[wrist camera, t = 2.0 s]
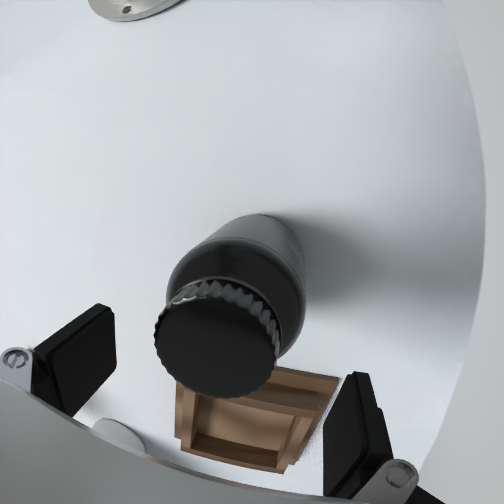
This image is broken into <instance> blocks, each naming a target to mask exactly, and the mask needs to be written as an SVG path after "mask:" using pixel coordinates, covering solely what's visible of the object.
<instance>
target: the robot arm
mask: <svg viewBox="0 0 504 504" xmlns="http://www.w3.org/2000/svg"><path fill="white" fill-rule="evenodd" d="M178 1H180V0H88V3H89V5H90V7H91V9H92V10H93V11H94V12H95V13H96V14H98V15H99V16H101V17H103V18H105V19H108V20H111V21H120V22H123V21H133V20H136V19H141V18H145V17H147V16H150V15H153V14H155V13H158V12H160V11H162V10H164V9H166V8H168V7H170V6H172V5H174V4H175V3H177V2H178ZM34 351H35V353H33V354H31V353H30V352H29V351H28V350H27V349H24V348H21V347H13V348H9V349H7V350H5V351H4V352H3V353H2V354H1V356H0V504H445V503H443V502H442V501H440V500H439V499H437V498H435V497H434V496H432V495H431V494H429V493H428V492H426V491H425V490H423V489H422V488H420V487H419V486H417V483H418V481H419V475H418V472H417V470H416V468H415V467H414V466H413V465H412V464H411V463H409V462H407V461H405V460H402V459H394V457H393V453H392V448H391V444H390V440H389V435H388V431H387V427H386V423H385V419H384V415H383V412H382V409H381V408H378V407H377V403H376V399H375V395H374V391H373V387H372V384H371V380H370V376H369V374H368V373H363V372H356V371H354V372H353V373H352V375H351V374H348V375H347V376H346V379H345V381H344V383H343V385H342V387H341V389H340V391H339V394H338V396H337V398H336V400H335V402H334V404H333V406H332V408H331V410H330V412H329V414H328V416H327V418H326V420H325V422H324V425H323V496H316V495H307V494H299V493H292V492H285V491H279V490H273V489H268V488H262V487H257V486H252V485H247V484H242V483H238V482H234V481H230V480H225V479H222V478H218V477H214V476H210V475H207V474H204V473H200V472H197V471H194V470H190V469H187V468H184V467H181V466H178V465H175V464H172V463H169V462H167V461H164V460H161V459H159V458H156V457H153V456H151V455H148V454H146V453H143V452H141V451H138V450H136V449H134V448H131V447H129V446H127V445H125V444H122V443H120V442H118V441H116V440H114V439H112V438H109V437H107V436H105V435H103V434H101V433H99V432H97V431H95V430H93V429H91V428H90V427H88V426H86V425H84V424H82V423H80V422H78V421H77V420H75V419H73V418H72V417H73V416H74V415H75V414H76V413H77V412H78V411H79V410H80V408H81V407H82V406H83V405H84V404H85V403H86V402H87V401H88V400H89V398H90V397H91V396H92V395H93V394H94V393H95V392H96V391H97V390H98V388H99V387H100V386H101V385H102V384H103V383H104V382H105V381H106V380H107V378H108V377H109V376H110V375H111V374H112V373H113V372H114V371H115V369H116V365H117V360H116V344H115V318H114V313H113V312H112V310H111V308H110V307H108V306H105V305H102V304H100V303H97V304H95V305H94V306H93V307H91V308H90V309H88V310H87V311H85V312H84V313H83V314H81V315H80V316H78V317H77V318H75V319H74V320H73V321H71V322H70V323H68V324H67V325H66V326H64V327H63V328H61V329H60V330H59V331H57V332H56V333H54V334H53V335H52V336H50V337H49V338H48V339H46V340H45V341H43V342H42V343H41V344H39V345H38V346H37V347H35V348H34Z"/></svg>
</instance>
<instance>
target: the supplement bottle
mask: <svg viewBox="0 0 504 504" xmlns="http://www.w3.org/2000/svg"><path fill="white" fill-rule="evenodd" d="M305 311H306V295H305V266H304V256H303V251H302V248H301V245H300V243H299V241H298V239H297V237H296V236H295V235H294V233H293V232H292V231H291V230H290V229H289V228H288V227H287V226H286V225H284V224H283V223H281V222H280V221H278V220H276V219H274V218H271V217H268V216H264V215H246V216H242V217H239V218H236V219H234V220H232V221H230V222H229V223H227V224H225V225H224V226H223V227H221V228H220V229H219V230H217V231H216V232H215V233H213V234H212V235H211V236H209V237H208V238H207V239H205V240H204V241H203V242H201V243H200V244H199V245H197V246H196V247H195V248H193V249H192V250H191V251H189V252H188V253H187V254H186V255H185V256H184V257H183V258H182V259H181V260H180V262H179V263H178V264H177V265H176V267H175V268H174V270H173V272H172V274H171V276H170V279H169V282H168V286H167V292H166V306H165V309H164V310H163V311H162V312H161V313H160V314H159V317H158V321H157V322H156V324H155V332H154V338H155V343H154V345H155V347H156V349H157V355H158V357H159V358H160V359H161V363H162V365H163V366H164V367H165V368H166V370H167V372H168V373H169V374H170V375H172V376H173V377H174V379H175V380H176V381H178V382H180V383H181V384H182V385H183V386H184V387H186V388H189V389H191V390H192V391H193V392H195V393H200V394H202V395H204V396H207V397H213V398H215V399H219V398H223V399H230V398H240V397H241V396H248V395H249V394H250V393H252V392H256V391H258V389H259V388H260V387H262V386H264V385H265V384H266V381H267V380H269V379H270V378H271V376H272V373H273V370H274V369H275V368H276V364H277V359H278V358H280V357H281V356H283V355H284V354H285V353H286V352H287V351H288V350H289V349H290V348H291V347H292V346H293V344H294V343H295V342H296V340H297V338H298V336H299V335H300V333H301V330H302V327H303V324H304V319H305Z"/></svg>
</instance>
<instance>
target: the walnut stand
mask: <svg viewBox="0 0 504 504" xmlns="http://www.w3.org/2000/svg"><path fill="white" fill-rule="evenodd" d="M337 384H338V378H337V377H331V376H325V375H319V374H313V373H308V372H302V371H297V370H292V369H287V368H282V367H277V366H276V368H275V369H274V370H273V373H272V376H271V378H270V379H269V380H267V381H266V384H265V385H264V386H262V387H260V388H259V389H258V391H256V392H252V393H250V394H249V395H248V396H241V397H240V398H230V399H223V398H219V399H215V398H213V397H207V396H204V395H202V394H200V393H195V392H193V391H192V390H191V389H189V388H186V387H184V386H183V385H182V384H181V383H180V382H178V381H176V401H175V438H178V439H181V451H184V452H187V453H191V454H194V455H197V456H201V457H204V458H208V459H212V460H216V461H220V462H224V463H228V464H232V465H236V466H241V467H246V468H251V469H256V470H261V471H267V472H273V473H279V474H283V473H284V472H285V470H286V468H287V467H288V465H289V464H290V465H294V464H295V463H296V461H297V459H298V458H299V456H300V454H301V453H302V451H303V449H304V447H305V446H306V444H307V442H308V440H309V439H310V437H311V435H312V433H313V431H314V429H315V428H316V426H317V424H318V422H319V420H320V418H321V416H322V414H323V412H324V410H325V408H326V406H327V404H328V402H329V400H330V398H331V396H332V394H333V392H334V390H335V388H336V386H337Z"/></svg>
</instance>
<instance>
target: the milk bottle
mask: <svg viewBox="0 0 504 504" xmlns="http://www.w3.org/2000/svg"><path fill="white" fill-rule="evenodd" d="M91 429H93V430H95V431H97V432H99V433H101V434H103V435H105V436H107V437H109V438H112V439H114V440H116V441H118V442H120V443H122V444H125V445H127V446H129V447H131V448H134V449H136V450H138V451H141V452H143V453H144V452H145V448H144V444H143V442H142V441H141V440H140V438H139V437H138V436H137V435H136V434H135V433H133V432H132V431H131V430H130V429H128V428H127V427H125V426H123V425H122V424H120V423H118V422H115V421H112V420H109V419H101V420H99V421H97V422H96V423H95V424H94V426H93V427H92V428H91Z"/></svg>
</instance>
